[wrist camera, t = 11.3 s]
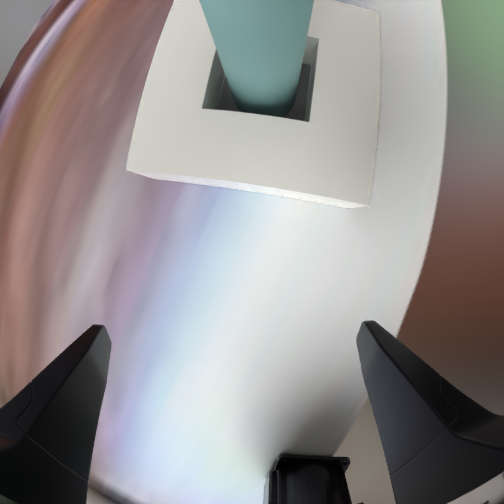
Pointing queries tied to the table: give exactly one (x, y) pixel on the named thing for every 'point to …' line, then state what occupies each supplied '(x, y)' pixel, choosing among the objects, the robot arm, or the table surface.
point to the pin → (260, 50)
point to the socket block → (263, 126)
